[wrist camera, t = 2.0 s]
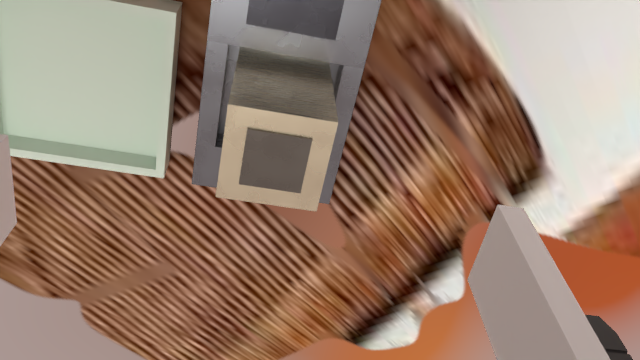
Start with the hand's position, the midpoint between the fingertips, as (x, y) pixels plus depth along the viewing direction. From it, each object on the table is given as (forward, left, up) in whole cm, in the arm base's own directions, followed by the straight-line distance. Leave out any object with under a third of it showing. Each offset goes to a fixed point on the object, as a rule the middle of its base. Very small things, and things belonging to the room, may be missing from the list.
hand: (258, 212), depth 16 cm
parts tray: (-12, -8, -25) cm, 29 cm away
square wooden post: (+1, -7, -25) cm, 26 cm away
